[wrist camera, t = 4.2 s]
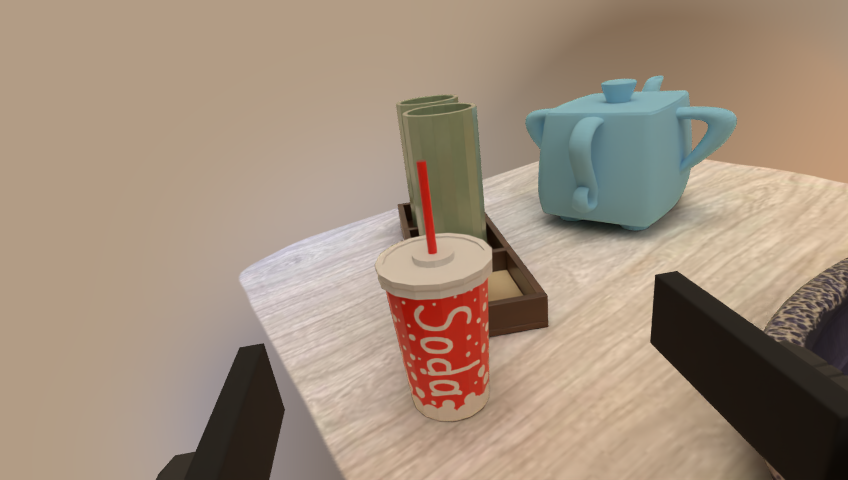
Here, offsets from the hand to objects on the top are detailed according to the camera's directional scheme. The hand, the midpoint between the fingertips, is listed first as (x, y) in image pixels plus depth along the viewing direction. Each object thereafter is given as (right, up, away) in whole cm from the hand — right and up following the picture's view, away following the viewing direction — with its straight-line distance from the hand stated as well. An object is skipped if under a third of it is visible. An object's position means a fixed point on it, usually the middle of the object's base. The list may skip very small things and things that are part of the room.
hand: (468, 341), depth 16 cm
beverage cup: (0, -6, +12) cm, 13 cm away
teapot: (+20, +7, +36) cm, 42 cm away
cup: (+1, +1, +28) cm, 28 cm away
